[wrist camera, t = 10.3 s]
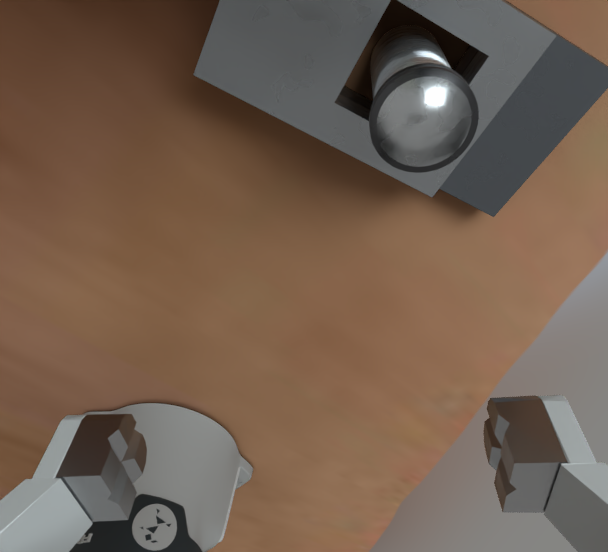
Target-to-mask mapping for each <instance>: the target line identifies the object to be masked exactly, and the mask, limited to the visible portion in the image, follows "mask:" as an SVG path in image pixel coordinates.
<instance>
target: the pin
mask: <svg viewBox="0 0 608 552" xmlns="http://www.w3.org/2000/svg"><path fill="white" fill-rule="evenodd" d="M370 73H371V82H372V91H373V102H372V104H371V108H370V113H369V128H370V136H371V140H372V143H373V145H374V148H375V150H376V151H377V153H378V154H379V155H380V156H381V158H382V159H383V160H384V161H386V162H387V163H388V164H390V165H391V166H393V167H395V168H397V169H399V170H402V171H406V172H413V173H423V172H430V171H434V170H437V169H440V168H442V167H444V166H446V165H448V164H450V163H451V162H453V161H454V160H456V159H457V158H458V157H459V156H460V155H461V154H462V153H463V152H464V151H465V150H466V149H467V147H468V146H469V145H470V143H471V141H472V139H473V138H474V135H475V133H476V130H477V126H478V119H479V110H478V104H477V101H476V98H475V95H474V93H473V91H472V90H471V88H470V86H469V84H468V83H467V82H466V80H465V79H464V78H463V77H462V76H461V75H460V74H459V73H457V72H456V71H455V70H453V69H452V68H451V67H450V65H449V63H448V61H447V59H446V57H445V55H444V53H443V51H442V49H441V47H440V46H439V44H438V42H437V40H436V38H435V37H434V36H433V35H432V34H431V33H430V32H429V31H428V30H426V29H424V28H422V27H420V26H416V25H403V26H399V27H396V28H394V29H392V30H390V31H388V32H387V33H386V34H384V35H383V36H382V37H381V38H380V40H379V41H378V42H377V44H376V45H375V47H374V49H373V52H372V55H371V59H370Z"/></svg>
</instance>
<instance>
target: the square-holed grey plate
mask: <svg viewBox="0 0 608 552" xmlns="http://www.w3.org/2000/svg"><path fill="white" fill-rule="evenodd" d="M390 1H391V0H220V1H219V4H218V7H217V10H216V13H215V15H214V18H213V21H212V24H211V27H210V29H209V32H208V35H207V38H206V41H205V43H204V46H203V49H202V52H201V55H200V58H199V60H198V63H197V66H196V69H195V72H194V74H193V75H194V76H196V77H198V78H200V79H202V80H204V81H206V82H208V83H210V84H212V85H214V86H216V87H218V88H220V89H222V90H224V91H226V92H227V93H229V94H231V95H233V96H235V97H237V98H239V99H241V100H243V101H245V102H247V103H249V104H251V105H253V106H255V107H257V108H259V109H261V110H263V111H265V112H266V113H268V114H270V115H272V116H274V117H276V118H278V119H280V120H282V121H284V122H286V123H288V124H290V125H292V126H294V127H296V128H298V129H300V130H302V131H303V132H305V133H307V134H309V135H311V136H313V137H315V138H317V139H319V140H321V141H323V142H325V143H327V144H329V145H331V146H333V147H335V148H337V149H339V150H341V151H342V152H344V153H346V154H348V155H350V156H352V157H354V158H356V159H358V160H360V161H362V162H364V163H366V164H368V165H370V166H372V167H374V168H376V169H378V170H380V171H381V172H383V173H385V174H387V175H389V176H391V177H393V178H395V179H397V180H399V181H401V182H403V183H405V184H407V185H409V186H411V187H413V188H415V189H417V190H418V191H420V192H422V193H424V194H426V195H428V196H430V197H433V196H434V195H435V193H436V192H437V191H438V189H441V190H443V191H445V192H447V193H448V194H450V195H452V196H454V197H456V198H458V199H460V200H462V201H464V202H466V203H468V204H470V205H472V206H473V207H475V208H477V209H479V210H481V211H483V212H485V213H487V214H489V215H491V216H493V217H494V216H495V215H496V214H497V213H498V211H499V210H500V209H501V208H502V207H503V206H504V205H505V204H506V202H507V201H508V200H509V199H510V198H511V197H512V196H513V195H514V193H515V192H516V191H517V190H518V189H519V188H520V187H521V185H522V184H523V183H524V182H525V181H526V180H527V179H528V178H529V176H530V175H531V174H532V173H533V172H534V171H535V170H536V169H537V167H538V166H539V165H540V164H541V163H542V162H543V161H544V159H545V158H546V157H547V156H548V155H549V154H550V153H551V152H552V150H553V149H554V148H555V147H556V146H557V145H558V144H559V143H560V141H561V140H562V139H563V138H564V137H565V136H566V135H567V133H568V132H569V131H570V130H571V129H572V128H573V127H574V126H575V124H576V123H577V122H578V121H579V120H580V119H581V118H582V117H583V115H584V114H585V113H586V112H587V111H588V110H589V109H590V107H591V106H592V105H593V104H594V103H595V102H596V101H597V100H598V98H599V97H600V96H601V95H602V94H603V93H604V92H605V91H606V89H607V88H608V66H607V65H605V64H604V63H602V62H600V61H599V60H597V59H596V58H594V57H593V56H591V55H590V54H588V53H586V52H585V51H583V50H582V49H580V48H579V47H577V46H576V45H574V44H573V43H571V42H569V41H568V40H566V39H565V38H563V37H562V36H560V35H559V34H557V33H555V32H554V31H552V30H551V29H549V28H548V27H546V26H545V25H543V24H542V23H540V22H538V21H537V20H535V19H534V18H532V17H531V16H529V15H528V14H526V13H524V12H523V11H521V10H520V9H518V8H517V7H515V6H514V5H512V4H511V3H509V2H507V1H506V0H397V1H399V2H401V3H402V4H404V5H406V6H407V7H409V8H411V9H412V10H414V11H416V12H417V13H419V14H420V15H422V16H424V17H425V18H427V19H429V20H430V21H432V22H434V23H435V24H437V25H439V26H440V27H442V28H444V29H445V30H447V31H448V32H450V33H452V34H453V35H455V36H457V37H458V38H460V39H462V40H463V41H465V42H467V43H468V44H470V46H469V47H468V49H467V50H466V52H465V53H464V55H463V56H462V58H461V59H460V61H459V62H458V64H457V65H456V67H455V68H454V70H455V71H456V72H457V73H459V74H460V75H461V76H462V77H463V78H464V79H465V80H466V82H467V83H468V84H469V86H470V88H471V90H472V91H473V93H474V95H475V98H476V101H477V104H478V110H479V119H478V126H477V130H476V133H475V135H474V138H473V139H472V141H471V143H470V145H469V146H468V147H467V149H466V150H465V151H464V152H463V153H462V154H461V155H460V156H459V157H458V158H457V159H456V160H454V161H453V162H451V163H450V164H448V165H446V166H444V167H442V168H440V169H437V170H434V171H430V172H423V173H413V172H406V171H402V170H399V169H397V168H395V167H393V166H391V165H390V164H388V163H387V162H386V161H384V160H383V159H382V158H381V156H380V155H379V154H378V153H377V151H376V150H375V148H374V145H373V143H372V140H371V136H370V128H369V113H370V108H371V104H372V102H373V101H371V100H369V99H367V98H365V97H364V96H362V95H360V94H358V93H356V92H354V91H353V90H351V89H349V88H347V87H345V86H344V84H345V82H346V81H347V79H348V77H349V75H350V73H351V72H352V70H353V68H354V66H355V64H356V62H357V61H358V59H359V57H360V55H361V53H362V52H363V50H364V48H365V46H366V44H367V42H368V41H369V39H370V37H371V35H372V33H373V32H374V30H375V28H376V26H377V24H378V22H379V21H380V19H381V17H382V15H383V13H384V12H385V10H386V8H387V6H388V4H389V2H390Z"/></svg>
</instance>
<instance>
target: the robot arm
mask: <svg viewBox="0 0 608 552" xmlns="http://www.w3.org/2000/svg"><path fill="white" fill-rule="evenodd" d="M487 411H488V414H489V417H490V418H489V419H487V420H486V421H485V424H484V445H485V450H486V455H487V459H488V462H489V464H490V465H491V466H492V467H493V468H494V469H495V470H496V476H495V482H494V484H495V487H496V490H497V494H498V498H499V501H500V504H501V508H502V511H503V512H545V513H544V515H545V516H546V517H547V518H548V519H549V521H550V522H551V523H552V524H553V525H554V526H555V527H556V528H557V529H558V530H559V532H560V533H561V534H562V535H563V536H564V537H565V538H566V539H567V540H568V541H569V542H570V544H571V545H572V546H573V547H574V548H575V549H576V550H577V551H578V552H608V465H607V464H606V463H604V462H602V463H601V462H596V460H595V457H594V455H593V453H592V451H591V449H590V447H589V445H588V443H587V441H586V439H585V436H584V435H583V433H582V430H581V428H580V426H579V424H578V422H577V420H576V418H575V416H574V414H573V411H572V409H571V407H570V405H569V403H568V401H567V399H566V398H565V397H564V396H563V395H552V396H520V397H502V398H490V400H489V401H488V406H487ZM252 472H253V468H252V466H251V465H250V464H249V463H248V462H247V461H246V460H245V459H244V458H243V457H241V455H240V454H239V451H238V448H237V446H236V443H235V441H234V439H233V438H232V436H231V435H230V434H229V433H228V432H227V431H226V430H225V429H224V428H223V427H222V426H221V425H219V424H218V423H216V422H215V421H213V420H212V419H210V418H208V417H206V416H204V415H202V414H200V413H198V412H195V411H192V410H189V409H186V408H183V407H179V406H174V405H168V404H159V403H143V404H135V405H130V406H126V407H123V408H120V409H117V410H114V411H109V412H106V411H103V412H87V413H85V414H83V415H67V416H66V417H65V418H64V419H62V420H61V422H60V424H59V426H58V428H57V429H56V431H55V433H54V435H53V437H52V439H51V441H50V443H49V445H48V447H47V449H46V451H45V453H44V455H43V457H42V459H41V461H40V463H39V465H38V467H37V469H36V471H35V473H34V475H33V477H32V479H25V480H24V481H23V482H22V483H21V484H19V485H18V486H17V487H16V488H15V489H13V490H12V491H11V492H10V493H9V494H7V495H6V496H5V497H4V498H3V499H2V500H0V552H207V551H208V550H209V549H211V548H213V547H214V546H215V545H216V544H217V543H219V542H221V541H222V539H223V537H224V534H225V530H226V526H227V522H228V518H229V514H230V510H231V505H232V501H233V497H234V493H235V490H236V489H237V488H239V487H240V486H242V485H243V484H245V483H246V482H247V481H249V480H250V479H251V476H252Z"/></svg>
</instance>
